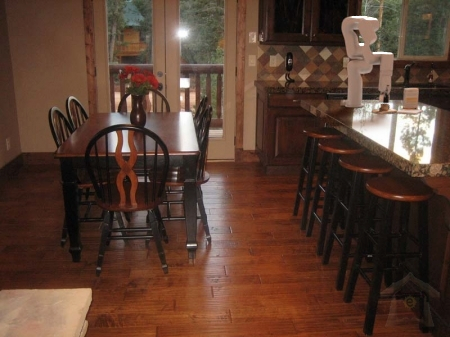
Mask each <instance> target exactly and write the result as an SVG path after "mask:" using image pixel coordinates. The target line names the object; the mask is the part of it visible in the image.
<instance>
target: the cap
mask: <svg viewBox="0 0 450 337" xmlns="http://www.w3.org/2000/svg"><path fill="white" fill-rule="evenodd" d="M383 98H384V94H383V95H380V94H379V99H378V102H379V103H383ZM389 98H390V94H389Z"/></svg>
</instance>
